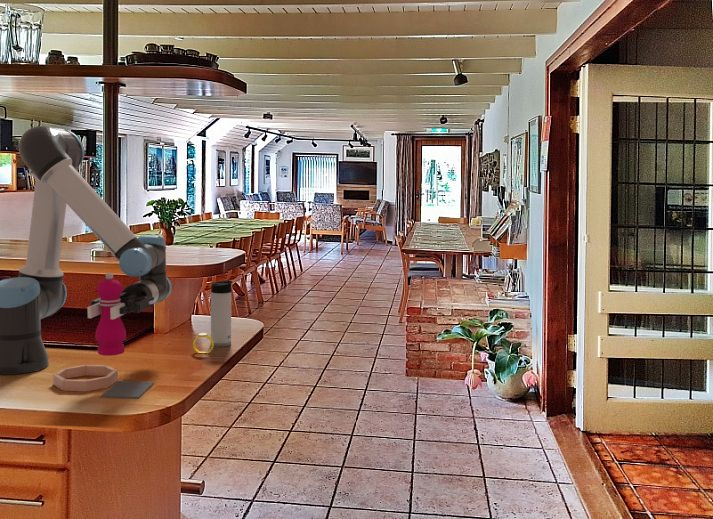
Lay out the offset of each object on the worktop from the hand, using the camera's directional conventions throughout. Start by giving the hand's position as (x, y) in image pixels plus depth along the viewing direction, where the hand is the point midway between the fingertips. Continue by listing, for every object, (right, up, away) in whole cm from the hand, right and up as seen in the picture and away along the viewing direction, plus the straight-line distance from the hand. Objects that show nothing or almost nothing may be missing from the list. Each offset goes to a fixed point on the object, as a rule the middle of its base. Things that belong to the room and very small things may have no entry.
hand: (100, 313), depth 167 cm
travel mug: (+19, -14, +52) cm, 57 cm away
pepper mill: (0, -10, +7) cm, 12 cm away
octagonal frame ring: (-7, -18, +10) cm, 22 cm away
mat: (+5, -19, +4) cm, 20 cm away
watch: (+16, -15, +41) cm, 46 cm away
